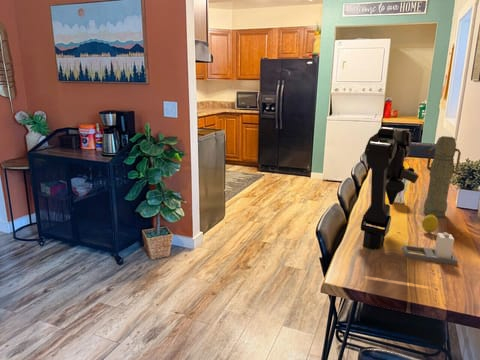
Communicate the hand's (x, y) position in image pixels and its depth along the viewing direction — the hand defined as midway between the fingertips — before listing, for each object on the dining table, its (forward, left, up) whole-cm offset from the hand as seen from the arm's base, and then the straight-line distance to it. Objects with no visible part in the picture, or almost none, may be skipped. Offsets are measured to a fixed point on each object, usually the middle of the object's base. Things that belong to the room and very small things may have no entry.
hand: (390, 200), depth 138 cm
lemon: (+14, -8, -13) cm, 21 cm away
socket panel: (-4, -23, -12) cm, 26 cm away
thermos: (+35, +7, -13) cm, 38 cm away
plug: (-1, -26, -12) cm, 28 cm away
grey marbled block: (+33, +26, -13) cm, 44 cm away
